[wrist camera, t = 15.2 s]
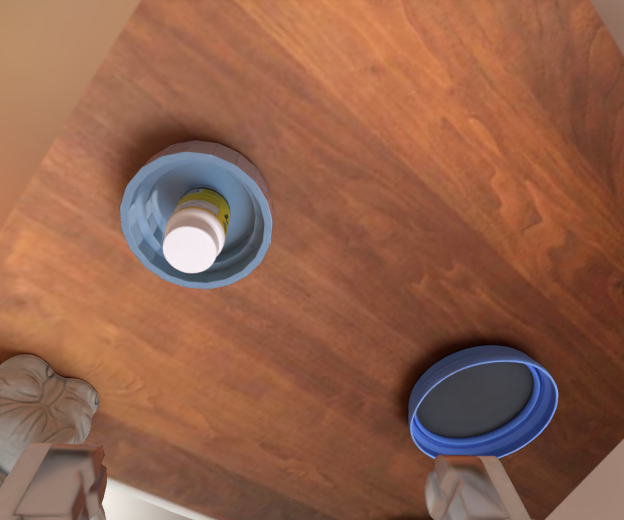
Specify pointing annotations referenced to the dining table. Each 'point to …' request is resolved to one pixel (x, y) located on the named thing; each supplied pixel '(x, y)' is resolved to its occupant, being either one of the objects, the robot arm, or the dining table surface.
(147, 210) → the blue bowl
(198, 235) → the supplement bottle
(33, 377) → the grey elephant figurine
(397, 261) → the dining table surface
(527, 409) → the bowl
